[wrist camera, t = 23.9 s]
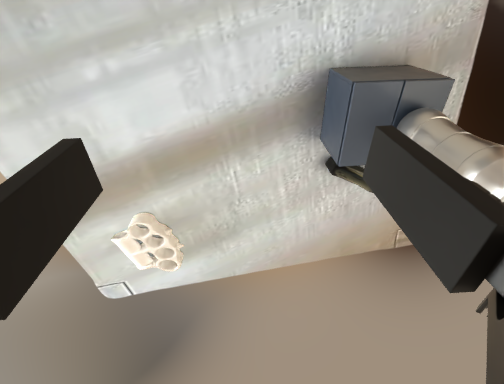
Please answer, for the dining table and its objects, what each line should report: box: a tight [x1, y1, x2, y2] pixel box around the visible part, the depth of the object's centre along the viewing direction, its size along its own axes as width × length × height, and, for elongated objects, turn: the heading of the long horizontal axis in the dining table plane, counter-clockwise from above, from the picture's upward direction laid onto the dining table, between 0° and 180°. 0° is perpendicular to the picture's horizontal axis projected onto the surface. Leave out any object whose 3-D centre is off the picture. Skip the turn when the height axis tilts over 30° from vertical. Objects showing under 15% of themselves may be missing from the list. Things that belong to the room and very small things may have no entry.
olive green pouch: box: [326, 157, 373, 193], centre depth 54 cm, size 5×3×15 cm
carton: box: [320, 65, 455, 165], centre depth 43 cm, size 14×13×11 cm
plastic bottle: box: [397, 108, 504, 202], centre depth 31 cm, size 6×7×20 cm
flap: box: [338, 80, 404, 167], centre depth 39 cm, size 7×13×1 cm, turn 1°
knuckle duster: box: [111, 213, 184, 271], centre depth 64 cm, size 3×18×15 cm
